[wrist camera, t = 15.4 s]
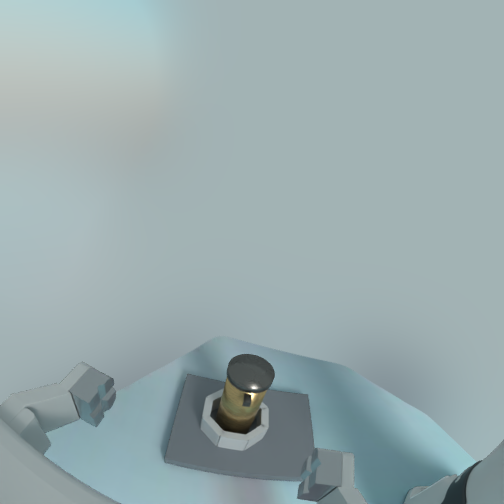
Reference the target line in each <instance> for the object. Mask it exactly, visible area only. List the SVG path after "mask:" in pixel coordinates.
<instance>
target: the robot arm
mask: <svg viewBox="0 0 504 504" xmlns="http://www.w3.org/2000/svg"><path fill="white" fill-rule="evenodd" d="M113 385H114V380H113V378H111V377H109V376H107V375H105V374H104V373H102V372H100V371H98V370H96V369H94V368H93V367H91V366H89V365H88V364H86V363H84V362H81V363H79V364H78V365H77V366H76V367H75V368H74V369H73V370H72V371H71V372H70V373H69V374H68V375H67V376H66V377H65V379H63V380H62V381H61V382H60V383H59V385H58V384H56V383H54V384H51V385H47V386H43V387H39V388H35V389H31V390H26V391H22V392H18V393H13V394H11V395H10V396H9V397H8V398H7V399H6V400H5V401H4V402H3V403H2V404H1V405H0V504H120V503H119V502H117V501H115V500H113V499H111V498H109V497H107V496H105V495H104V494H102V493H100V492H98V491H96V490H95V489H93V488H91V487H90V486H88V485H86V484H85V483H83V482H81V481H80V480H78V479H77V478H75V477H74V476H72V475H71V474H69V473H68V472H66V471H65V470H63V469H62V468H60V467H59V466H57V465H56V464H55V463H53V462H52V461H51V460H49V459H48V458H47V457H45V456H44V454H45V452H46V451H47V450H48V448H49V447H50V446H51V443H50V440H49V439H48V437H47V436H46V434H45V433H47V432H49V431H52V430H54V429H57V428H59V427H62V426H64V425H67V424H69V423H72V422H74V421H76V420H79V419H80V418H81V419H82V420H84V421H86V422H87V423H89V424H91V425H93V426H95V427H97V426H98V424H99V423H100V422H101V420H102V419H103V418H104V411H107V410H109V409H110V408H111V407H112V405H113V403H114V401H115V397H116V391H115V389H114V388H113V387H112V386H113ZM300 476H301V478H302V479H303V482H302V483H301V484H300V485H299V489H298V495H297V499H302V500H308V501H315V502H317V504H368V503H367V502H366V500H365V499H364V498H363V496H362V495H361V493H360V492H359V490H358V489H357V488H354V455H353V453H348V452H341V451H335V450H328V449H321V448H315V449H314V450H313V451H312V455H311V456H308V457H307V458H306V460H305V461H304V464H303V466H302V470H301V475H300ZM404 504H504V440H503V441H502V442H501V443H500V444H499V446H498V447H497V448H496V449H495V450H493V451H492V452H491V453H490V454H489V455H488V456H487V457H486V458H485V459H484V460H481V461H478V462H477V463H475V464H474V465H472V466H470V467H469V468H467V469H466V470H465V471H463V472H462V473H461V474H460V475H459V476H457V475H456V474H455V475H452V476H445V477H443V478H442V479H440V480H439V481H437V482H436V483H434V484H432V485H431V486H419V487H414V488H412V489H411V490H409V492H408V494H407V496H406V499H405V502H404Z"/></svg>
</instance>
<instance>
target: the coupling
mask: <svg viewBox="0 0 504 504" xmlns="http://www.w3.org/2000/svg"><path fill="white" fill-rule="evenodd" d="M274 376H275V373H274V369H273V367H272V366H271V364H270V363H269V362H267V361H266V360H265V359H263V358H261V357H259V356H256V355H252V354H242V355H238V356H235V357H234V358H232V359H231V361H230V362H229V365H228V368H227V379H226V382H225V386H224V390H223V393H222V397H221V401H220V404H219V408H218V412H217V415H216V419H215V422H216V423H217V424H218V425H219V426H220V428H221V429H222V430H223V431H227V432H232V433H239V434H245V435H246V434H247V433H248V431H249V429H250V427H251V425H252V423H253V421H254V419H255V416H256V414H257V412H258V410H259V407H260V405H261V403H262V401H263V398H264V396H265V394H266V391H267V389H268V388H269V387H270V386H271V384H272V382H273V379H274Z"/></svg>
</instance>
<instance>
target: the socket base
mask: <svg viewBox="0 0 504 504" xmlns="http://www.w3.org/2000/svg"><path fill="white" fill-rule="evenodd" d="M224 386H225V382H222V381H218V380H213V379H208V378H204V377H199V376H195V375H191V374H187V377H186V380H185V384H184V387H183V391H182V395H181V398H180V402H179V406H178V409H177V413H176V417H175V420H174V424H173V428H172V432H171V435H170V439H169V443H168V447H167V451H166V455H165V463H169V464H173V465H177V466H181V467H186V468H190V469H195V470H200V471H205V472H211V473H217V474H223V475H230V476H237V477H245V478H255V479H266V480H280V481H303V479H302V478H301V476H300V475H301V470H302V466H303V464H304V461H305V460H306V458H307V457H308V456H311V455H312V451H313V450H314V449H315V448H314V439H313V431H312V422H311V414H310V406H309V399H308V395H307V394H298V393H289V392H282V391H275V390H268V389H267V391H266V394H265V396H264V398H263V401H262V403H261V405H260V407H259V410H258V412H257V414H256V416H255V419H254V421H253V423H252V425H251V427H250V429H249V431H248V433H247V434H246V435H245V434H239V433H232V432H227V431H223V430H222V429H221V428H220V426H219V425H218V424H217V423H216V422H215V419H216V415H217V412H218V408H219V404H220V401H221V397H222V393H223V390H224Z"/></svg>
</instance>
